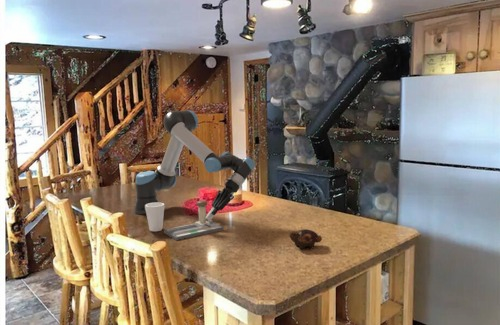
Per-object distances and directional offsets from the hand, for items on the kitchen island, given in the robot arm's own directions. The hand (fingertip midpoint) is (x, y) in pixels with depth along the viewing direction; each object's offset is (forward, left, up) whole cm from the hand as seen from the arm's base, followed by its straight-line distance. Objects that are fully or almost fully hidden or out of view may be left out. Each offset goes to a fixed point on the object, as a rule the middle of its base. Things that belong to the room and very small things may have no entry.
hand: (207, 219), depth 207 cm
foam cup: (-15, -22, -5) cm, 27 cm away
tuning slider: (+2, -3, -3) cm, 5 cm away
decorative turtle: (+50, +21, -5) cm, 54 cm away
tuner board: (0, -9, -5) cm, 10 cm away
